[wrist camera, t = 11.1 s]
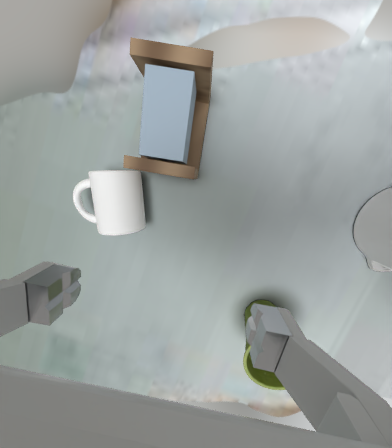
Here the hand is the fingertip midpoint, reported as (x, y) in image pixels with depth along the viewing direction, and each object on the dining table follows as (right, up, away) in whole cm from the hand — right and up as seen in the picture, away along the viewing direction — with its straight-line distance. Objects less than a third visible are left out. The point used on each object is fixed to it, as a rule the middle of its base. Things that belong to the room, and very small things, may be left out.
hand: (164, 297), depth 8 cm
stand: (-2, +19, +23) cm, 30 cm away
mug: (-14, +8, +27) cm, 31 cm away
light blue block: (-2, +17, +17) cm, 25 cm away
